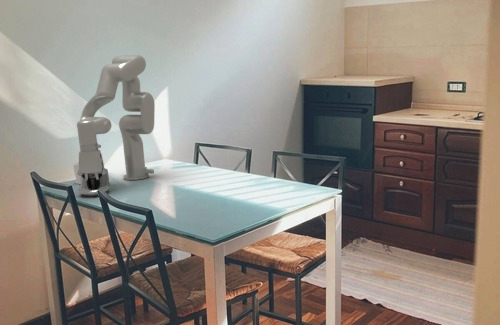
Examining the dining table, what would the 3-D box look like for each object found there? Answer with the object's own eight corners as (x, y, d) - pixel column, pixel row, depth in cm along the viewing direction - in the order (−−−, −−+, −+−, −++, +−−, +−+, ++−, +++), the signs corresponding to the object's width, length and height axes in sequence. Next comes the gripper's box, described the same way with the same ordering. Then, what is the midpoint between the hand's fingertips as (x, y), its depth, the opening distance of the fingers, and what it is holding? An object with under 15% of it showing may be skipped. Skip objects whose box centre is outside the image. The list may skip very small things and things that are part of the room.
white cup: (87, 184, 261) (84, 164, 259) (72, 184, 262) (70, 164, 260) (95, 180, 268) (92, 161, 266) (80, 180, 270) (78, 161, 268)
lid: (112, 189, 248) (110, 173, 246) (105, 197, 235) (103, 180, 234) (84, 190, 248) (82, 174, 247) (75, 198, 236) (73, 182, 234)
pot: (113, 180, 267) (111, 166, 265) (103, 189, 250) (101, 174, 248) (88, 181, 267) (87, 167, 265) (77, 190, 250) (76, 176, 248)
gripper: (109, 145, 241) (114, 184, 245) (73, 147, 241) (78, 186, 245) (105, 148, 233) (109, 189, 238) (67, 150, 234) (73, 191, 238)
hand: (93, 187), depth 241 cm, fingers closed on lid, 2 cm apart
